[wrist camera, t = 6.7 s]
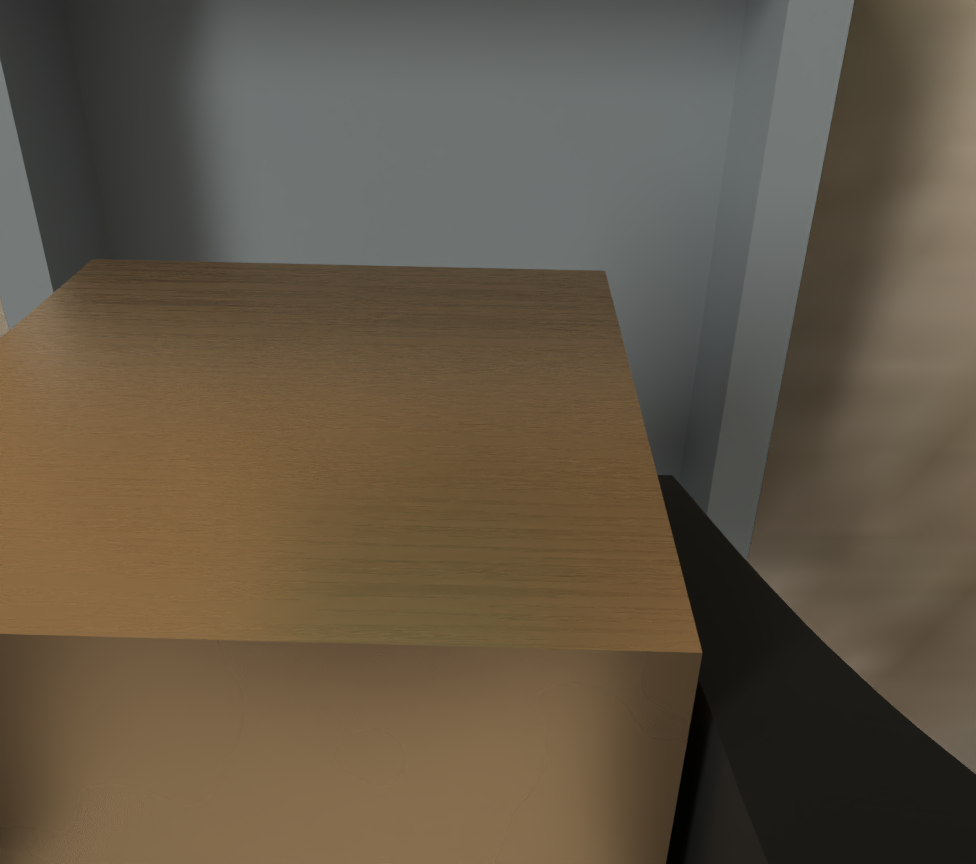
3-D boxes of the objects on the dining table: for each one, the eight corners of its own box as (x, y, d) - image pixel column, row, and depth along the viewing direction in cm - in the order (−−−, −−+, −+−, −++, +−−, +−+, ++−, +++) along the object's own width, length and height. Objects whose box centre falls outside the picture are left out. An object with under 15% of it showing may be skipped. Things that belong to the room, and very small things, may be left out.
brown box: (573, 656, 12) (614, 1158, 7) (170, 645, 12) (-54, 1136, 7) (604, 271, 9) (701, 651, 5) (92, 259, 9) (-335, 625, 5)
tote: (702, 539, 19) (732, 639, 17) (141, 524, 19) (84, 621, 17) (805, -113, 13) (876, -116, 11) (8, -127, 14) (-111, -134, 11)
